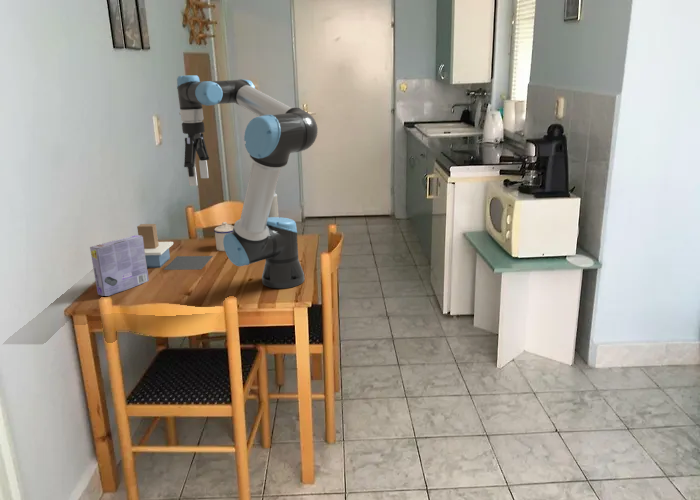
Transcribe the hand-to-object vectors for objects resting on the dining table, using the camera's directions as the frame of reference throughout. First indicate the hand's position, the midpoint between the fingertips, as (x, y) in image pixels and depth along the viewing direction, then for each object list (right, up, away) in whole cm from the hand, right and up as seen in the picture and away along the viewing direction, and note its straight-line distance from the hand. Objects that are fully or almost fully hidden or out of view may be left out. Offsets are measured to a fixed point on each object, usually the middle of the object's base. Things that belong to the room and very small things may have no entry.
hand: (199, 181), depth 206 cm
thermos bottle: (+20, -23, +40) cm, 51 cm away
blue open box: (-25, -30, +22) cm, 44 cm away
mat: (-10, -30, +21) cm, 38 cm away
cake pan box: (-26, -38, -3) cm, 46 cm away
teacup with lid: (+2, -24, +39) cm, 46 cm away
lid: (-25, -24, +20) cm, 40 cm away
